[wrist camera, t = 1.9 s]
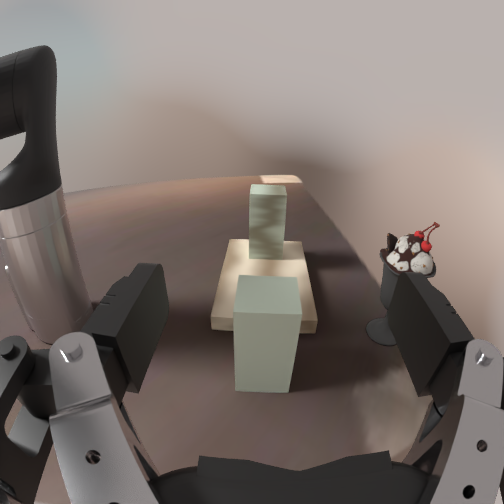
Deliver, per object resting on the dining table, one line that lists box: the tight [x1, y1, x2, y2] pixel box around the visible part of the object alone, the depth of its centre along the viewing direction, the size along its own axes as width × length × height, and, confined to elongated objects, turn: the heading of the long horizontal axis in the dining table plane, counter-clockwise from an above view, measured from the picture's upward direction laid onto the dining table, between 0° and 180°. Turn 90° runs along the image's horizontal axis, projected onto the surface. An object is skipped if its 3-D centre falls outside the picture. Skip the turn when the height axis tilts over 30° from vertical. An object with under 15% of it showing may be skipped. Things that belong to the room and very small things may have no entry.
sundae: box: [366, 222, 440, 345], centre depth 29 cm, size 7×7×15 cm
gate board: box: [211, 184, 318, 333], centre depth 39 cm, size 12×20×12 cm, turn 177°
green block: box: [233, 275, 302, 393], centre depth 26 cm, size 5×5×10 cm
